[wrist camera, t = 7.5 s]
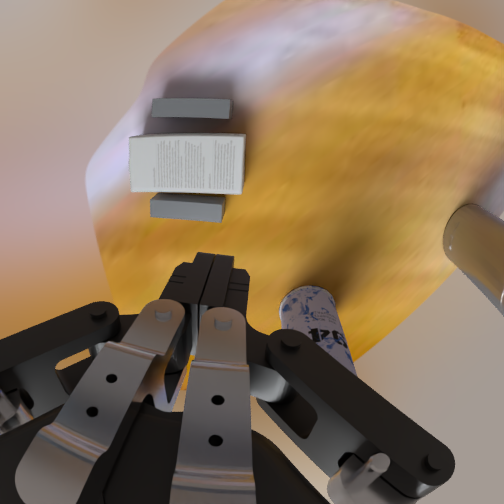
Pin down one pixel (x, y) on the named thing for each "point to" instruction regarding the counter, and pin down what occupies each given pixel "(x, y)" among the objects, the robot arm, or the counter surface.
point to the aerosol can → (316, 321)
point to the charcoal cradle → (184, 203)
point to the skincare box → (187, 163)
